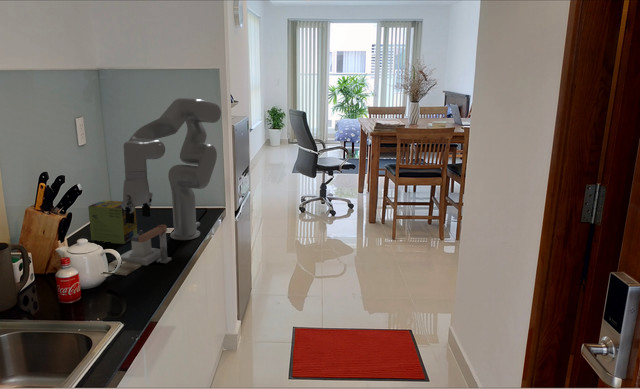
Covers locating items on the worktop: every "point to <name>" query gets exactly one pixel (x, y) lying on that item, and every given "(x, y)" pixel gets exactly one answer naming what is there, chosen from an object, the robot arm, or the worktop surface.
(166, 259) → the clip post
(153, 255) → the socket block
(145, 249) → the plug
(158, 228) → the clip
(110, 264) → the birch board
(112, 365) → the worktop surface
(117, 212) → the protein box
